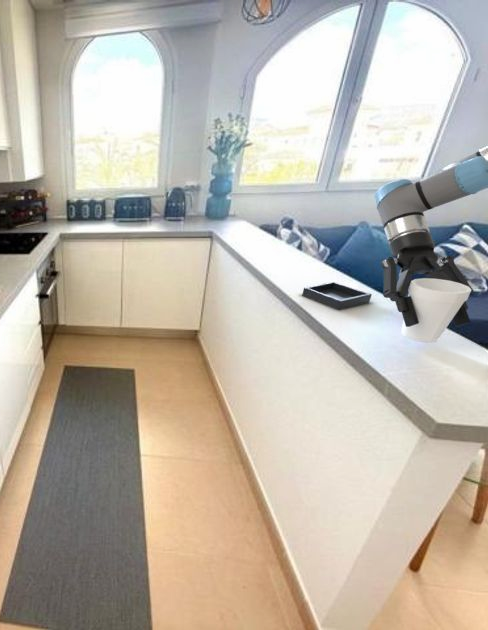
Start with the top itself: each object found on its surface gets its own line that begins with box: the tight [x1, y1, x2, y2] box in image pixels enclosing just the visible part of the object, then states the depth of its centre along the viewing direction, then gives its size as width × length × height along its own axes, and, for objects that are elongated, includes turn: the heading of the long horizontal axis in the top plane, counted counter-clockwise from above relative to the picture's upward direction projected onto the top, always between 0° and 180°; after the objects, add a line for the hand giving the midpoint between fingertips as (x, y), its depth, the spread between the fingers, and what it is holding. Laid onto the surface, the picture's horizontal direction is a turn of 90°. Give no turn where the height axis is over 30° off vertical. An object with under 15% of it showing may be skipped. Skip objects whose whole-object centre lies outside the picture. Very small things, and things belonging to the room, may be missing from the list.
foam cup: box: [401, 277, 471, 344], centre depth 79 cm, size 10×9×13 cm
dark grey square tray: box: [301, 281, 373, 311], centre depth 107 cm, size 12×12×3 cm
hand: (437, 324), depth 77 cm, fingers closed on foam cup, 9 cm apart
